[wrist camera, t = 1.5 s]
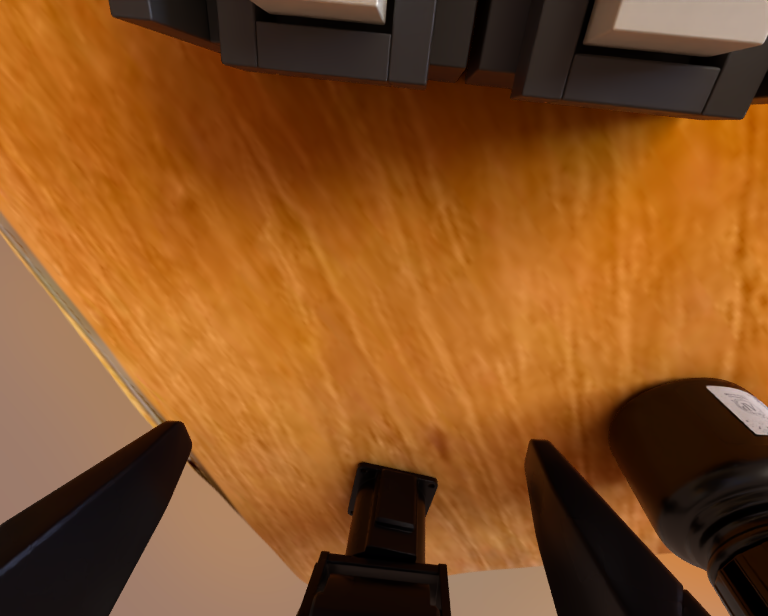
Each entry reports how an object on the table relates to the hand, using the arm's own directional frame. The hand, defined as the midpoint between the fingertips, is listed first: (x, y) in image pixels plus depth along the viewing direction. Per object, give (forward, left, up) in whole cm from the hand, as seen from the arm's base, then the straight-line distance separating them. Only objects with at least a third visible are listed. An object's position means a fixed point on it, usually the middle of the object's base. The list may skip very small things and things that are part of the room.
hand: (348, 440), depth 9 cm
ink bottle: (-7, -21, -13) cm, 26 cm away
